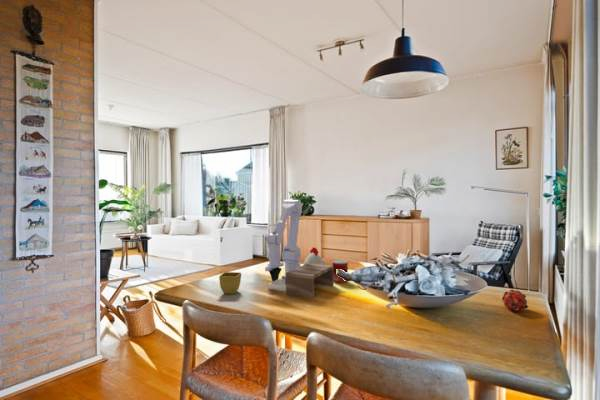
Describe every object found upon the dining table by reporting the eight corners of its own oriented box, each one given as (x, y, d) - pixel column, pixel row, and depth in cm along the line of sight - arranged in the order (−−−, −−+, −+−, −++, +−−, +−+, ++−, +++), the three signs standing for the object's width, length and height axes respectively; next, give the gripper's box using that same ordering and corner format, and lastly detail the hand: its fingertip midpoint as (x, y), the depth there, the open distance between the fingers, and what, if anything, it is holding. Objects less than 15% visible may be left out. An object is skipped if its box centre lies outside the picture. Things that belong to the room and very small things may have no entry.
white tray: (284, 281, 184) (284, 270, 184) (306, 284, 178) (306, 273, 178) (268, 289, 170) (268, 277, 170) (290, 292, 164) (290, 280, 163)
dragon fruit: (516, 309, 142) (516, 322, 132) (497, 295, 145) (496, 307, 135) (531, 295, 138) (532, 308, 128) (511, 281, 141) (511, 293, 131)
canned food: (348, 283, 179) (348, 262, 178) (333, 283, 179) (333, 262, 179) (346, 279, 186) (346, 259, 186) (332, 279, 187) (332, 259, 186)
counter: (309, 282, 182) (309, 263, 181) (333, 285, 175) (333, 265, 175) (286, 294, 161) (285, 272, 160) (312, 299, 154) (312, 275, 154)
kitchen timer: (310, 276, 195) (309, 250, 195) (298, 271, 207) (298, 247, 207) (330, 273, 202) (330, 248, 202) (318, 268, 214) (317, 245, 214)
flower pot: (242, 290, 169) (241, 272, 169) (237, 295, 160) (236, 276, 160) (224, 289, 170) (224, 272, 170) (219, 295, 161) (218, 276, 161)
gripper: (275, 253, 186) (276, 278, 186) (260, 258, 173) (260, 284, 173) (286, 254, 182) (287, 279, 183) (271, 259, 170) (272, 286, 170)
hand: (275, 282), depth 178 cm, fingers closed, pressing on white tray
